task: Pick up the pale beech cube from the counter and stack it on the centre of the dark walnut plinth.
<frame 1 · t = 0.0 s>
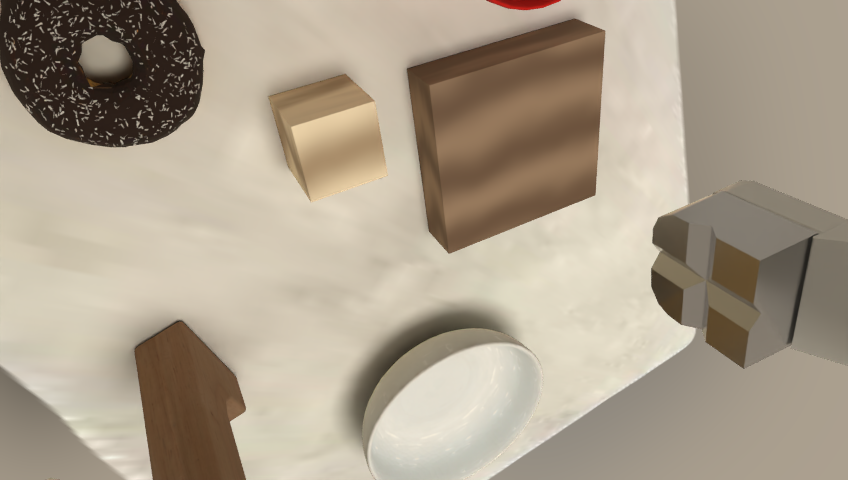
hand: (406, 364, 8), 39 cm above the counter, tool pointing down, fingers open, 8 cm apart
wooden block: (187, 361, 55), on the counter
beech cube: (315, 121, 48), on the counter
donut: (104, 46, 40), on the counter
serving bowl: (431, 377, 71), on the counter
plinth: (498, 129, 56), on the counter
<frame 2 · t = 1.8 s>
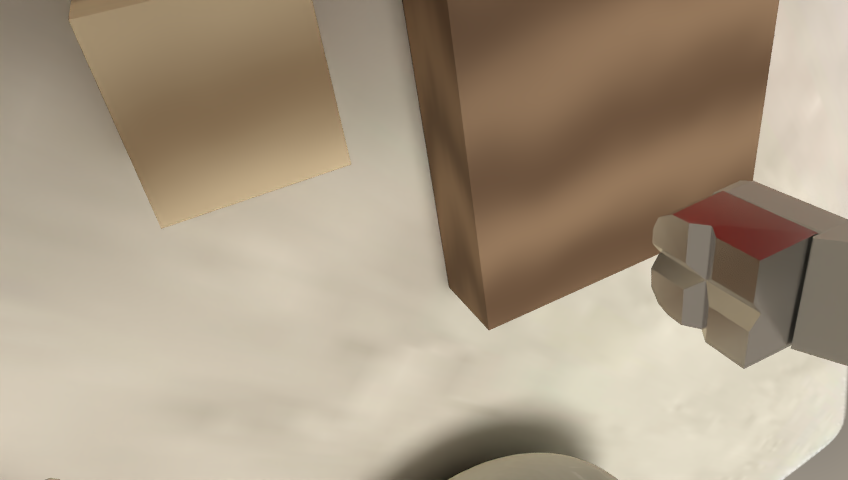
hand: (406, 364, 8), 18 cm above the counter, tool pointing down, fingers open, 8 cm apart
beech cube: (199, 58, 22), on the counter
plinth: (574, 93, 30), on the counter
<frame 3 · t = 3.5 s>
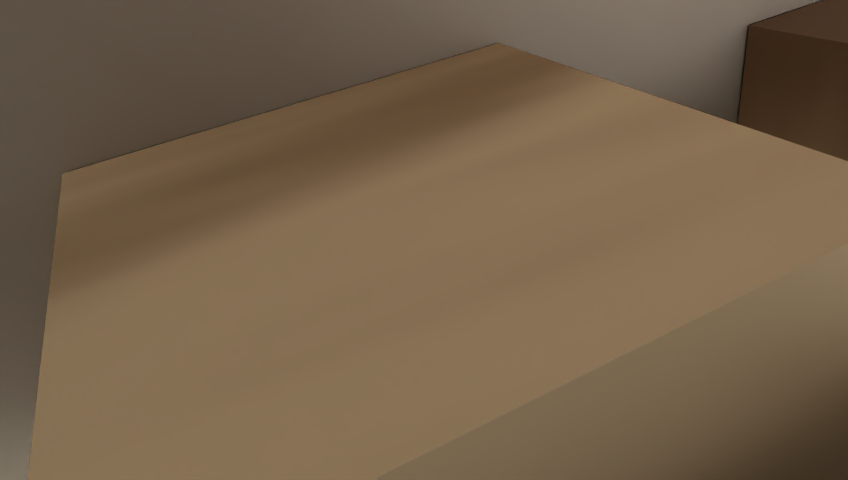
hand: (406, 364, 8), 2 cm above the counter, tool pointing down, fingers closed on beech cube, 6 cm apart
beech cube: (352, 283, 10), on the counter, touching gripper
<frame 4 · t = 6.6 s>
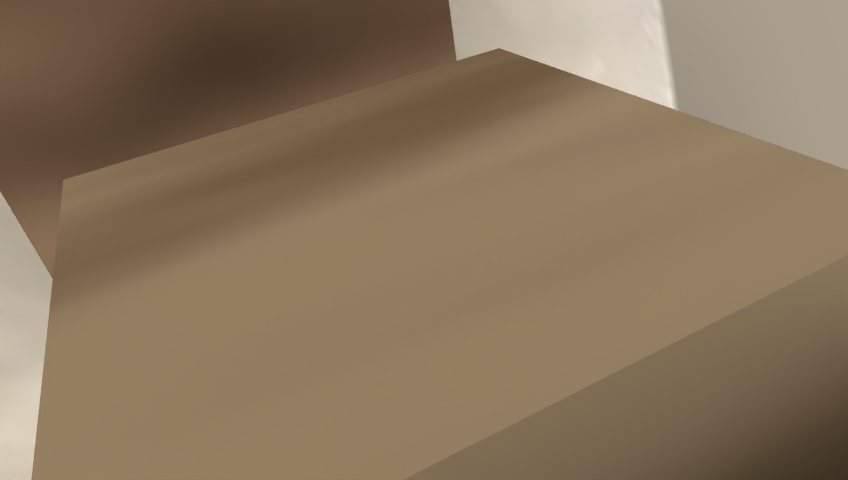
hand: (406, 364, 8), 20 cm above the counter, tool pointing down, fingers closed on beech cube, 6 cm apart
beech cube: (352, 288, 10), point 18 cm above the counter, touching gripper
plinth: (217, 47, 24), on the counter
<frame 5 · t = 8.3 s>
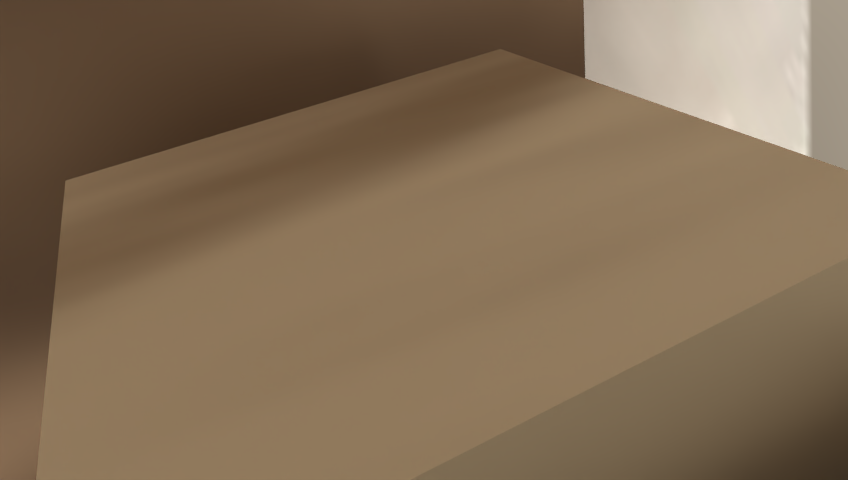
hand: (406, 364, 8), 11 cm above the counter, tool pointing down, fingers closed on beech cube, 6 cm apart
beech cube: (354, 288, 10), point 9 cm above the counter, touching gripper
plinth: (243, 119, 17), on the counter
when the fingers open (7 cm above the counter, at t = 9.6 s): beech cube stays where it is, resting on plinth.
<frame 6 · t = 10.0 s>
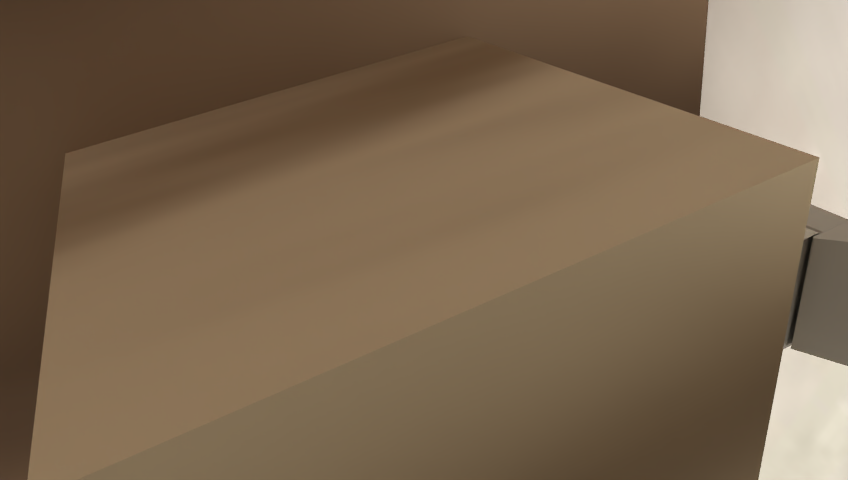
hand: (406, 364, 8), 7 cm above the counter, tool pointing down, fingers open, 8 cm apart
beech cube: (333, 260, 11), point 4 cm above the counter, touching plinth
plinth: (279, 177, 14), on the counter
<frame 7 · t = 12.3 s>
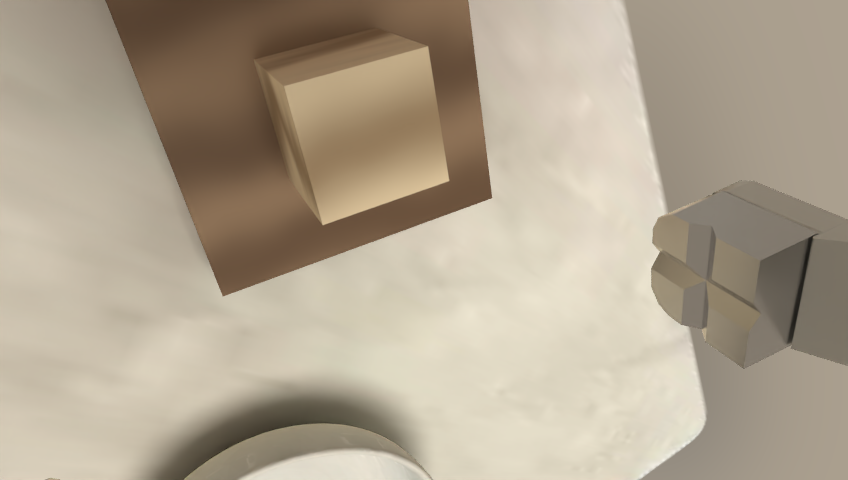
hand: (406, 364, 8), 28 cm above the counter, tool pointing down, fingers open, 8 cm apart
beech cube: (331, 105, 31), point 4 cm above the counter, touching plinth
plinth: (310, 88, 34), on the counter
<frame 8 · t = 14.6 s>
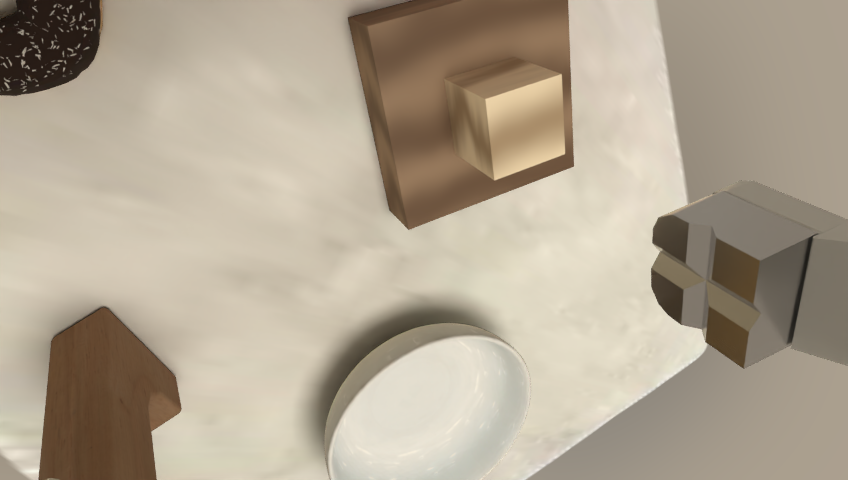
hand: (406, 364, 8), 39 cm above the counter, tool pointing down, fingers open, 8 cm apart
wooden block: (117, 357, 49), on the counter
beech cube: (484, 106, 48), point 4 cm above the counter, touching plinth
serving bowl: (407, 385, 64), on the counter
plinth: (460, 93, 51), on the counter
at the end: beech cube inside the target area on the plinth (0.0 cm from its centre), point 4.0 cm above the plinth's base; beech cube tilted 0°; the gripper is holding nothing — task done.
